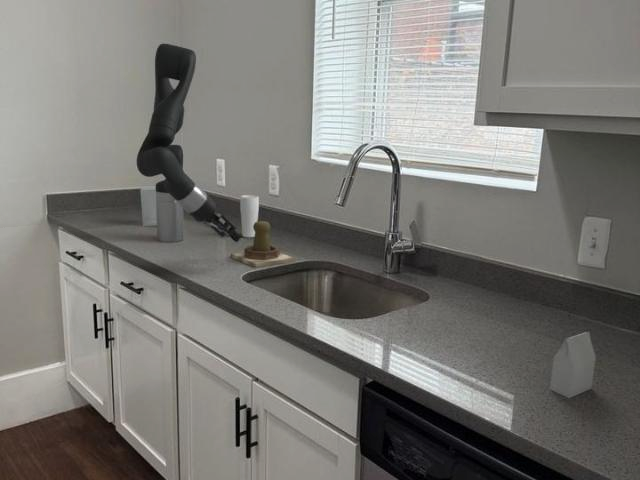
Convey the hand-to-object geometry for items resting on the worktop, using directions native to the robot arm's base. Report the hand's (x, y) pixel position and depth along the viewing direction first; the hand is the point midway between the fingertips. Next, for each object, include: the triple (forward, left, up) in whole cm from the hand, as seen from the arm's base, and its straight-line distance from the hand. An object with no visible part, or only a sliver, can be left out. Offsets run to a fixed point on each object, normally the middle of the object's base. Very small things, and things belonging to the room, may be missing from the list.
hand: (231, 237), depth 174 cm
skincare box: (-68, +3, -9) cm, 69 cm away
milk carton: (+104, +9, -9) cm, 105 cm away
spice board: (0, +11, -8) cm, 14 cm away
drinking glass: (-31, +25, -9) cm, 41 cm away
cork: (0, +11, -7) cm, 13 cm away
